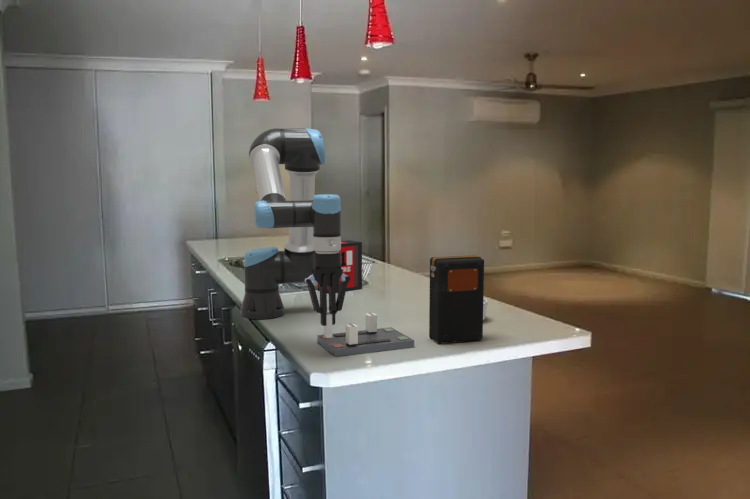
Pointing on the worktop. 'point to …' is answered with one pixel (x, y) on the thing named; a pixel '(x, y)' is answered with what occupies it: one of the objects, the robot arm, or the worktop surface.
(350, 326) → the block
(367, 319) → the block
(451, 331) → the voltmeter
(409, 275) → the worktop surface
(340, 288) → the robot arm
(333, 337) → the breaker panel
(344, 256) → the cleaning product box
